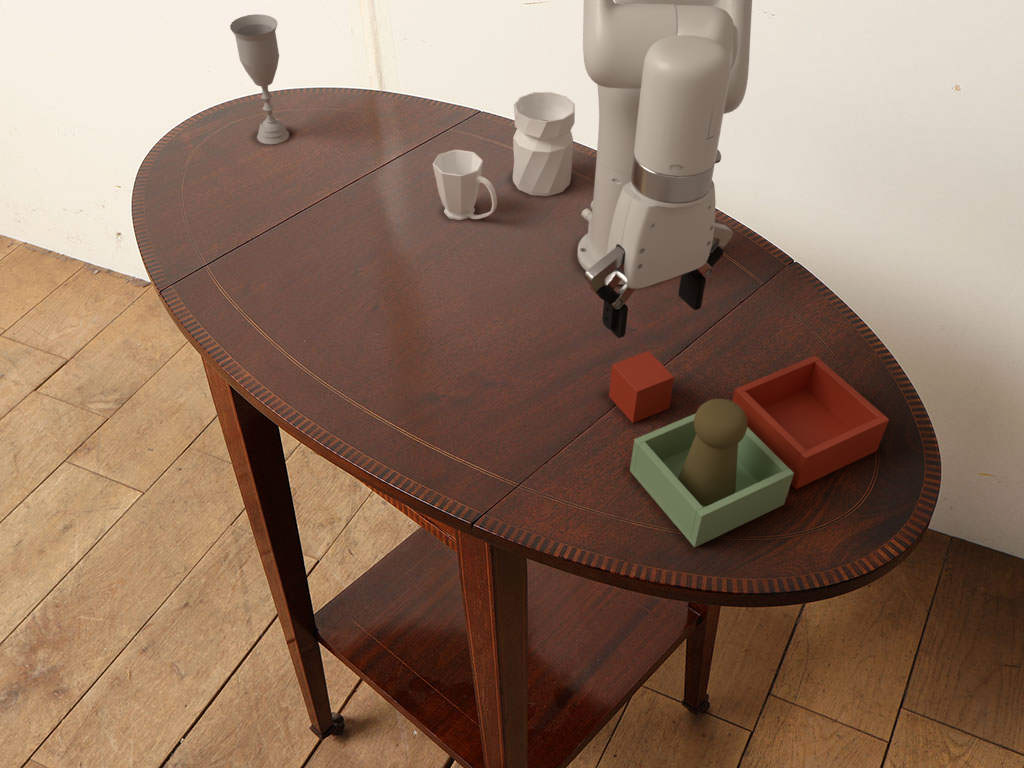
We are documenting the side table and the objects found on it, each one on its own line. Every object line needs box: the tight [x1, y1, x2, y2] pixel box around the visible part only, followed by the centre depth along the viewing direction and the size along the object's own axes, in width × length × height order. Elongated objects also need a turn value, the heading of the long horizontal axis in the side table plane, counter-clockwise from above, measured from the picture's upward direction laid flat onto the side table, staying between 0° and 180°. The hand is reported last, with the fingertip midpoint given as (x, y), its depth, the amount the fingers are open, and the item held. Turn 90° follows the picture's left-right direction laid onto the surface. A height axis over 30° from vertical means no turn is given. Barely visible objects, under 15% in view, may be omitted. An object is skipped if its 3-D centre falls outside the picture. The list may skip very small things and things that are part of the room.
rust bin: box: [731, 355, 890, 490], centre depth 108 cm, size 12×12×5 cm
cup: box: [432, 149, 498, 221], centre depth 138 cm, size 7×10×8 cm
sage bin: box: [629, 413, 794, 548], centre depth 103 cm, size 12×12×5 cm
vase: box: [512, 91, 576, 197], centre depth 143 cm, size 9×9×12 cm
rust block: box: [608, 350, 675, 424], centre depth 112 cm, size 5×5×5 cm
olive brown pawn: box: [678, 398, 747, 506], centre depth 100 cm, size 6×6×11 cm
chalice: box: [229, 13, 290, 145], centre depth 149 cm, size 7×7×18 cm
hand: (652, 316), depth 104 cm, fingers open, 9 cm apart
